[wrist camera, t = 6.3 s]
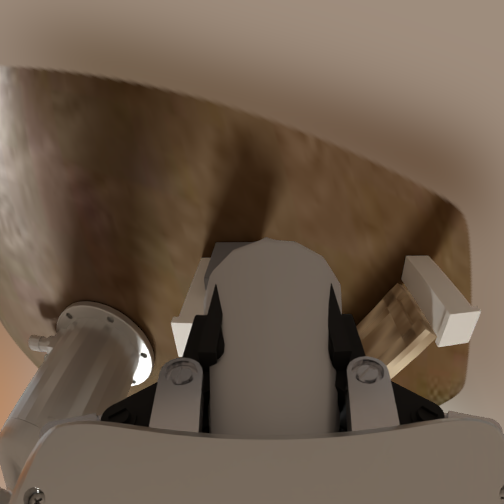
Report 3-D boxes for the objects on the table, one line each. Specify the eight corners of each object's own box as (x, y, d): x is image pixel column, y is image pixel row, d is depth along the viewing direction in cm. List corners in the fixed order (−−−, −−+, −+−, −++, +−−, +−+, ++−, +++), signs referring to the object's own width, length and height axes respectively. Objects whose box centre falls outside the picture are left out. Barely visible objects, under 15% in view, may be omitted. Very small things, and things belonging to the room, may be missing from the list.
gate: (396, 281, 28) (425, 328, 21) (407, 289, 28) (436, 337, 22) (298, 377, 33) (302, 430, 27) (310, 382, 34) (316, 434, 27)
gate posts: (201, 284, 30) (178, 356, 21) (196, 241, 28) (167, 305, 19) (424, 280, 29) (468, 342, 20) (433, 240, 27) (486, 295, 18)
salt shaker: (355, 258, 15) (462, 539, 3) (291, 338, 17) (303, 584, 6) (247, 197, 14) (182, 555, 2) (193, 293, 16) (113, 558, 4)
